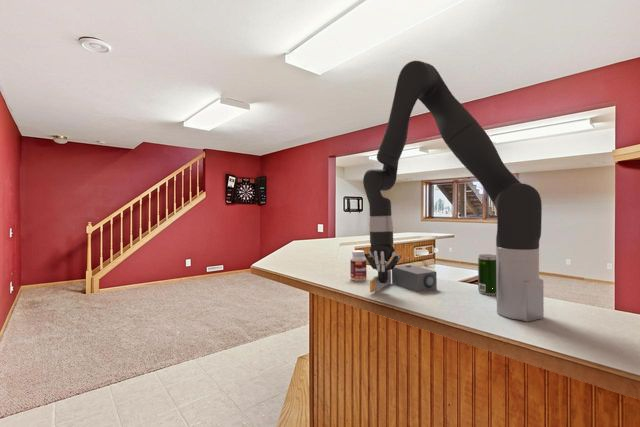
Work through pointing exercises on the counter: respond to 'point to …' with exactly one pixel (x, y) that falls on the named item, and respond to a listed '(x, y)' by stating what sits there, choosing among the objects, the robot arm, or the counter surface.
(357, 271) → the pill bottle
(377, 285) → the grey orange flat panel
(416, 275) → the camera body
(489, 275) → the beer can
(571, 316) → the counter surface
